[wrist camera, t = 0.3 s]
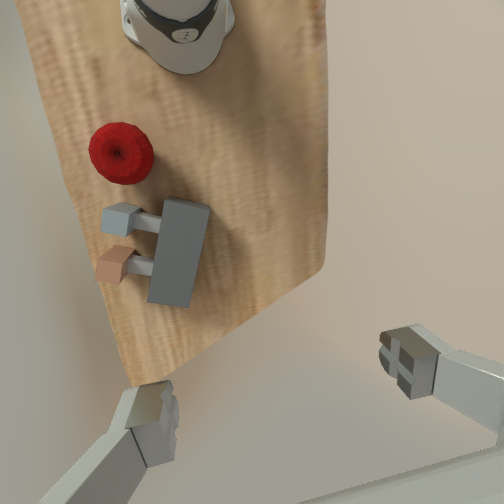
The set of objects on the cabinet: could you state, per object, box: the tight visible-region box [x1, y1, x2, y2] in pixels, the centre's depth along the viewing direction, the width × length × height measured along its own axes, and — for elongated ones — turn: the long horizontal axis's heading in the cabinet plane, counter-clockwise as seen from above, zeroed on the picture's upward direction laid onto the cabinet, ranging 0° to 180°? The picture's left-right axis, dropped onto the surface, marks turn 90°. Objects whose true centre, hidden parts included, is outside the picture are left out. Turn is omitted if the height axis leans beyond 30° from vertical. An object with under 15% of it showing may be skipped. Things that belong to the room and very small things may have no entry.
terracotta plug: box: [95, 245, 154, 284], centre depth 50 cm, size 4×10×9 cm, turn 75°
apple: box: [88, 122, 154, 185], centre depth 43 cm, size 10×10×11 cm
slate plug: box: [101, 202, 162, 237], centre depth 48 cm, size 4×10×9 cm, turn 75°
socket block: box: [147, 196, 210, 308], centre depth 51 cm, size 20×8×8 cm, turn 165°
